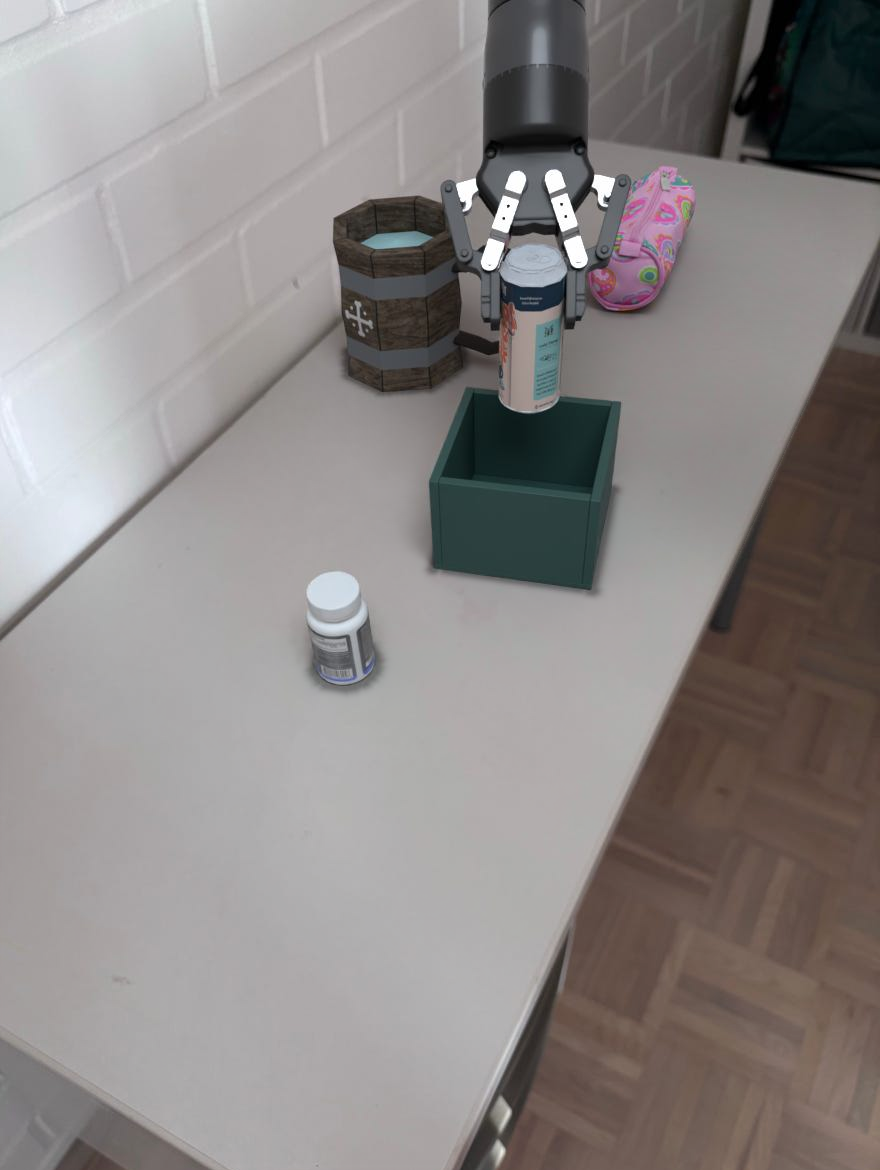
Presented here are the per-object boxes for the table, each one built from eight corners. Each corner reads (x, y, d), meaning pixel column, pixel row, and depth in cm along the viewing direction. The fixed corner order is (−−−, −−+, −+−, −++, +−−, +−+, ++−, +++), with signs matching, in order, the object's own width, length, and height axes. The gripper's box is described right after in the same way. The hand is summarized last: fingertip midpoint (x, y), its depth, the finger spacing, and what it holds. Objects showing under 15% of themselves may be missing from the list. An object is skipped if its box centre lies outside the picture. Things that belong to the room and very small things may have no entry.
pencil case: (623, 229, 125) (631, 156, 119) (695, 237, 123) (707, 163, 116) (577, 311, 112) (583, 234, 106) (657, 323, 110) (667, 244, 103)
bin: (611, 488, 91) (621, 401, 84) (591, 589, 82) (600, 501, 75) (467, 472, 94) (466, 386, 87) (433, 568, 85) (428, 481, 78)
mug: (324, 382, 106) (305, 248, 95) (371, 319, 114) (358, 189, 103) (499, 410, 100) (501, 270, 89) (534, 342, 109) (540, 206, 98)
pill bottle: (353, 633, 80) (341, 558, 74) (386, 666, 78) (377, 591, 72) (304, 661, 79) (289, 586, 72) (337, 696, 76) (324, 621, 70)
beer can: (511, 379, 80) (514, 236, 71) (567, 390, 79) (577, 246, 70) (489, 411, 78) (489, 267, 69) (546, 423, 76) (554, 277, 67)
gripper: (432, 64, 67) (430, 315, 68) (644, 54, 66) (640, 311, 67) (439, 116, 75) (437, 342, 76) (630, 108, 73) (626, 339, 74)
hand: (532, 326), depth 71 cm, fingers closed on beer can, 4 cm apart
